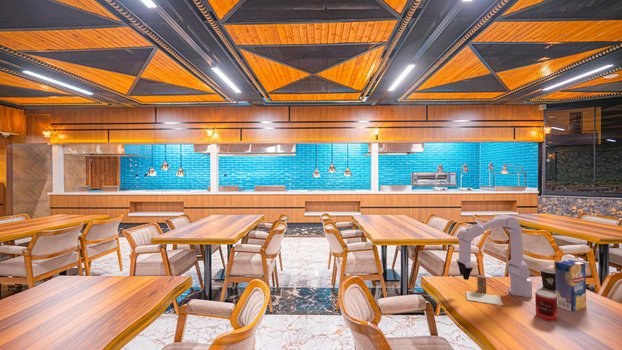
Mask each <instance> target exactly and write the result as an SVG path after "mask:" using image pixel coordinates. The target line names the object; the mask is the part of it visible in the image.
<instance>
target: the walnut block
mask: <svg viewBox="0 0 622 350" xmlns="http://www.w3.org/2000/svg"><path fill="white" fill-rule="evenodd" d="M476 281H477V283H476V285H477V286H476V287H477V293H483V294H487V277H486V275H483V274H477V275H476Z"/></svg>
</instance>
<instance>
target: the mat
mask: <svg viewBox="0 0 622 350" xmlns="http://www.w3.org/2000/svg"><path fill="white" fill-rule="evenodd" d="M465 295H466V301H468V302H474V301H476V303H483V304H486V305H487V304H489V305H494V306H502V307H504V304H503V301H502V299H501V296H500V295H494V294H488V293H486V294H482V293H478V292H475V291H467V290H466V291H465Z"/></svg>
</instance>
